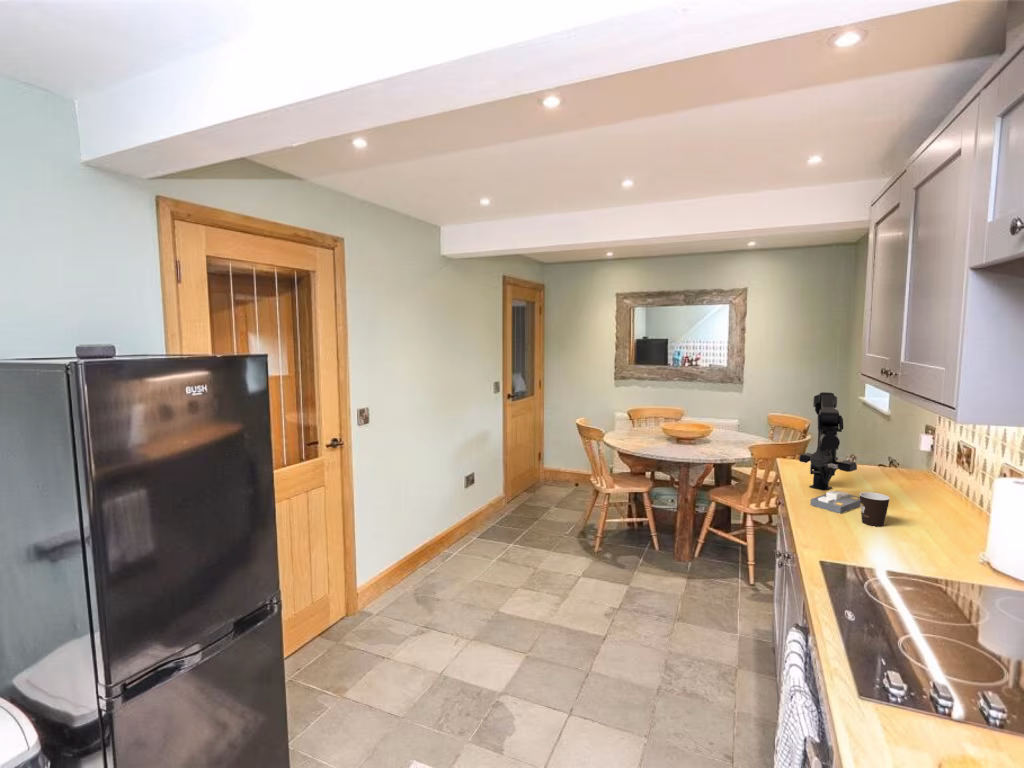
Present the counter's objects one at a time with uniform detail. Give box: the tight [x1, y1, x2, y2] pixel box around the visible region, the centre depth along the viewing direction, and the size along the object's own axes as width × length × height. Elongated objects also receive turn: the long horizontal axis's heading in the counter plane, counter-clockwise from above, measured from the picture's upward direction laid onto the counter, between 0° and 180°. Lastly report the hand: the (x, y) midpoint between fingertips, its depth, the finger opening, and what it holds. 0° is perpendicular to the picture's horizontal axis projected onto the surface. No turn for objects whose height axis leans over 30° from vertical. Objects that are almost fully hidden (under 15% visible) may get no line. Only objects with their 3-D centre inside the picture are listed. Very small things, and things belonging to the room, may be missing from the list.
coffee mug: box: [859, 491, 891, 528], centre depth 181 cm, size 12×9×10 cm
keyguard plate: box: [810, 490, 861, 515], centre depth 199 cm, size 18×11×3 cm, turn 121°
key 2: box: [837, 490, 850, 497], centre depth 203 cm, size 4×4×3 cm
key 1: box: [818, 496, 834, 503], centre depth 197 cm, size 4×4×3 cm
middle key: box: [825, 490, 842, 500], centre depth 200 cm, size 4×4×3 cm
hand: (826, 483), depth 197 cm, fingers closed
